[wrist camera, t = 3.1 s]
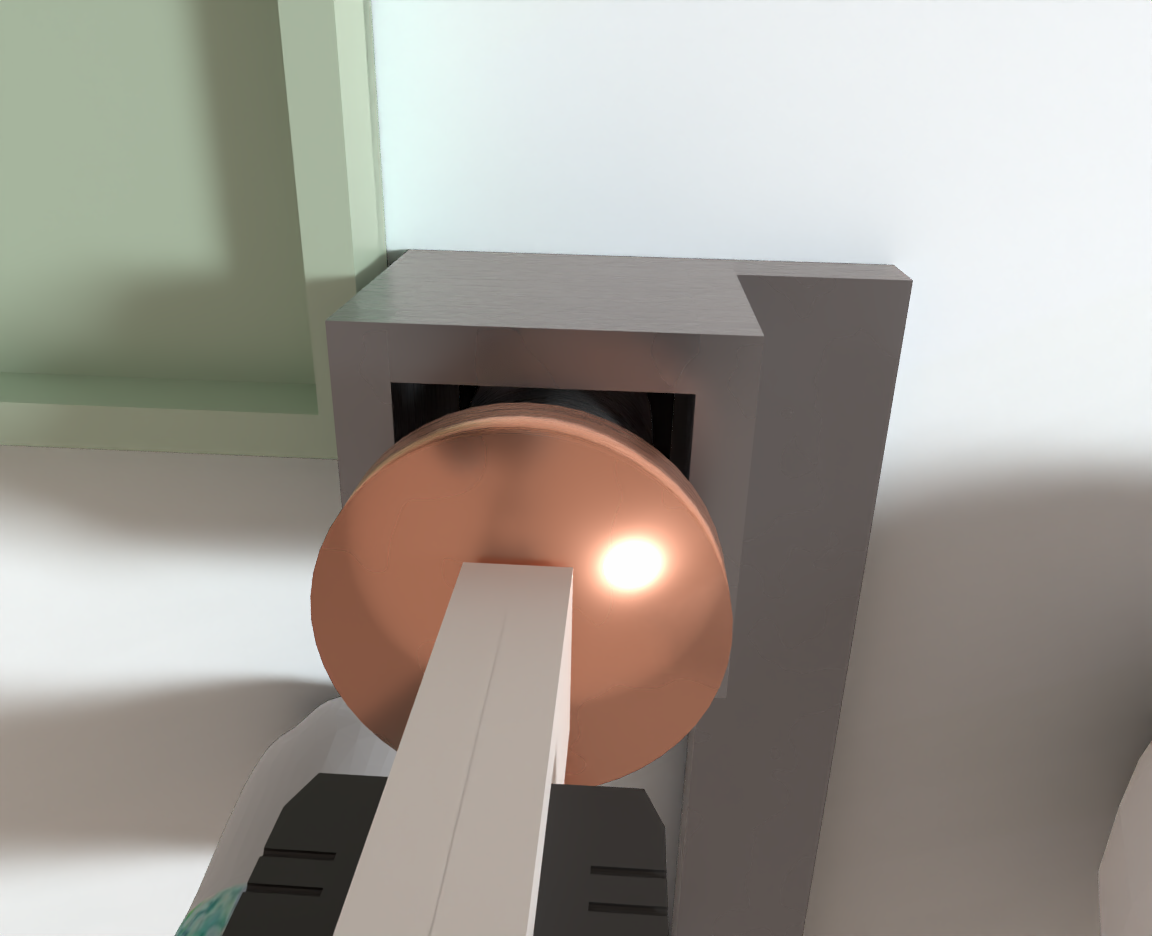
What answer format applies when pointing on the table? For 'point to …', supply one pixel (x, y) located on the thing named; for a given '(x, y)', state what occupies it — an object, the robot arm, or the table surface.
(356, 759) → the bottle
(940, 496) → the table surface
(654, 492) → the plunger
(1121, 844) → the vase
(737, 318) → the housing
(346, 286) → the tray
